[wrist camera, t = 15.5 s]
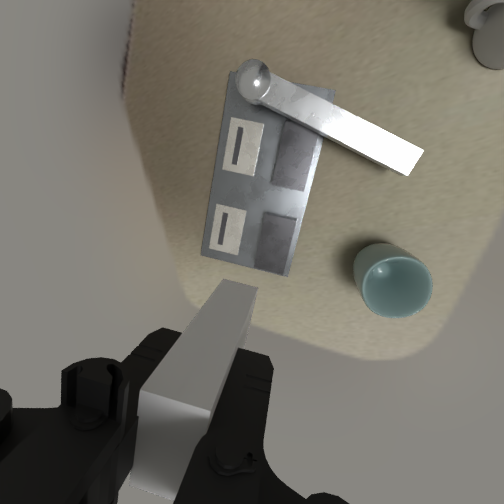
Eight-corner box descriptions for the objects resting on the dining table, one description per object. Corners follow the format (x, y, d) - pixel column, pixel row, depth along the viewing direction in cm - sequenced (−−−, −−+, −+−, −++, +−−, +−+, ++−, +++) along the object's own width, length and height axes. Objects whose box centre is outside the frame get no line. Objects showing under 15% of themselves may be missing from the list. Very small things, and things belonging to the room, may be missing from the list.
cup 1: (349, 289, 44) (362, 320, 35) (346, 240, 43) (359, 259, 33) (404, 286, 43) (433, 317, 33) (403, 234, 41) (434, 252, 32)
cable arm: (234, 95, 36) (229, 89, 33) (248, 62, 35) (244, 52, 32) (397, 179, 35) (405, 179, 33) (417, 147, 34) (427, 145, 31)
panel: (232, 74, 40) (224, 62, 35) (334, 92, 38) (338, 83, 34) (203, 253, 47) (193, 260, 43) (288, 274, 45) (286, 284, 41)
